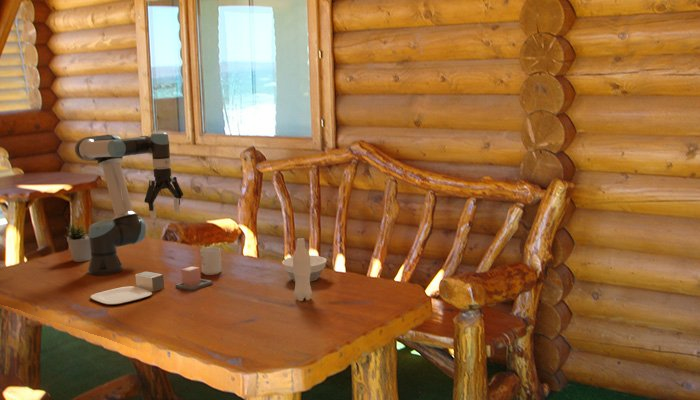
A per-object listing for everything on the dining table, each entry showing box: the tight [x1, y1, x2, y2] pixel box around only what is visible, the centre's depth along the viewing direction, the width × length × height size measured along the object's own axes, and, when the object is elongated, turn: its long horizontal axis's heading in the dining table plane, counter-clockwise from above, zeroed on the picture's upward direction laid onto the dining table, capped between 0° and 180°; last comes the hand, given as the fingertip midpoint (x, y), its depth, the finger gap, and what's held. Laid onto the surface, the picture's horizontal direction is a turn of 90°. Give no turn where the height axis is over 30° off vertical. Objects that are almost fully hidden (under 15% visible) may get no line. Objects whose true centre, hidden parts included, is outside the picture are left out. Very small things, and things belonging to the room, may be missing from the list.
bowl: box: [281, 255, 328, 283], centre depth 359 cm, size 20×20×8 cm
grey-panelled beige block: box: [135, 271, 165, 293], centre depth 353 cm, size 11×6×6 cm, turn 53°
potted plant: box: [64, 222, 91, 263], centre depth 407 cm, size 13×14×20 cm
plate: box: [90, 285, 153, 306], centre depth 341 cm, size 22×22×2 cm
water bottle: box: [292, 237, 313, 302], centre depth 327 cm, size 7×7×25 cm
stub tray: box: [175, 278, 213, 292], centre depth 354 cm, size 10×12×2 cm
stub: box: [181, 266, 202, 287], centre depth 355 cm, size 5×6×7 cm
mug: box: [199, 246, 222, 276], centre depth 376 cm, size 12×9×11 cm
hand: (165, 215), depth 364 cm, fingers open, 13 cm apart
